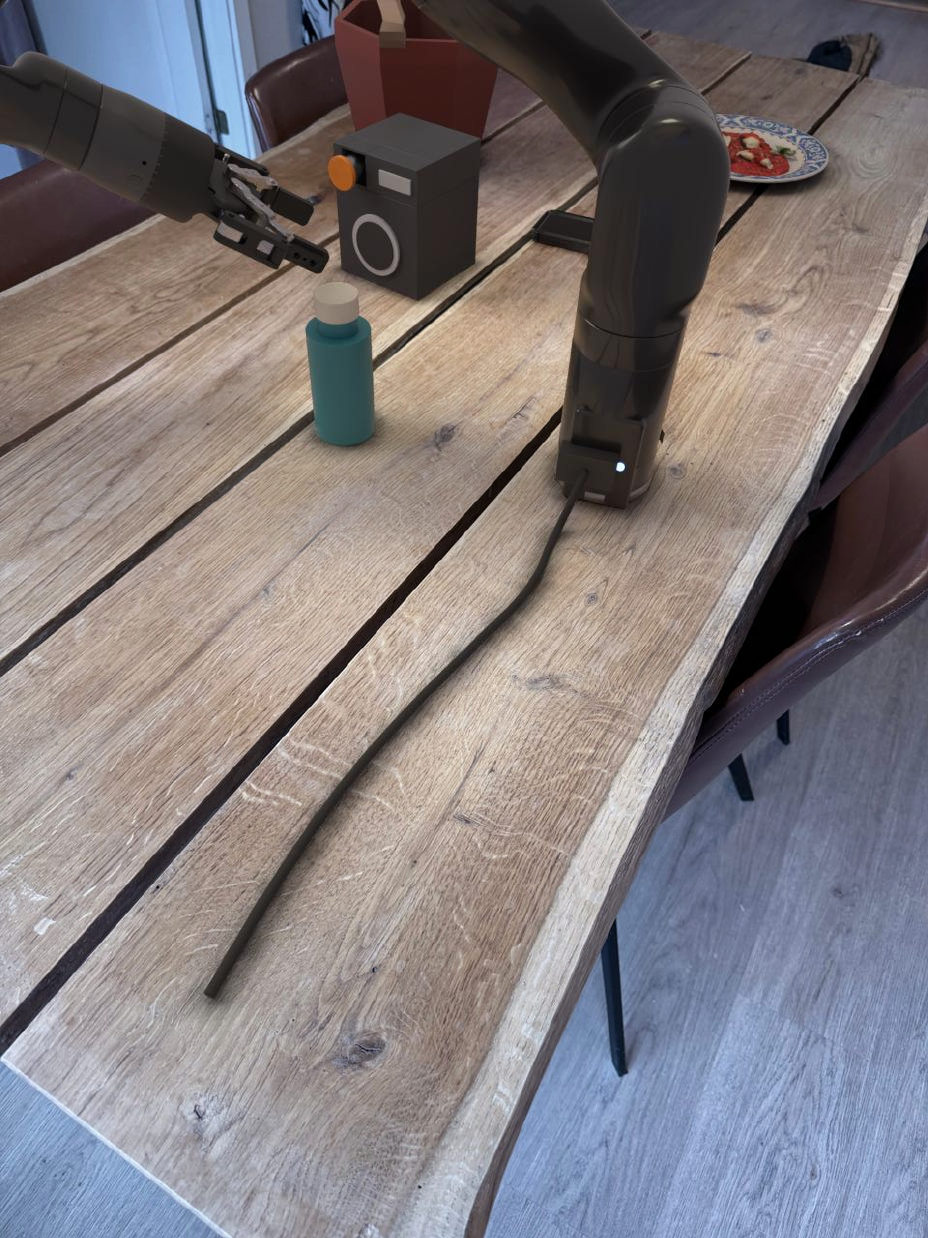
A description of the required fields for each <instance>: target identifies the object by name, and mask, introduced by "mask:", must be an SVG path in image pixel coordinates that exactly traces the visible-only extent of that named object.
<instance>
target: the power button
mask: <svg viewBox="0 0 928 1238" xmlns="http://www.w3.org/2000/svg"><path fill="white" fill-rule="evenodd" d="M327 171H328V176H329V179H330V181H331V182H332V184H333V185H334V186H335V188H336V187H337V188H338V189H340V190H342V191H347V190H349V189H351V188H353V186H354V185H355V182H357V181H359V180H361V179H363V178H365V177H366V161H365V155H362V154H359V153H356V152H353V153H351V154H349V155H347V156H342V155H337V156H335V157H334V156H333V157H331V158H330V160H329V162H328V165H327Z"/></svg>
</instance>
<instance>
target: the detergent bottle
mask: <svg viewBox="0 0 928 1238" xmlns="http://www.w3.org/2000/svg"><path fill="white" fill-rule="evenodd" d="M359 297H360V295H359V291H358V289H357V288H356V286H354V285H352V284H350V283H348V282H344V281H330V282H325V283H322V284H319V285H318V286H316V287H315V288H314V290H313V292H312V299H313V310H314V317H313V318H312V319H310V320H309V321H308V322H307V324H306V325H305V329H304V330H305V332H304V333H305V340H306V350H307V361H308V370H309V379H310V389H311V398H312V408H313V419H314V427H315V432H316V435H317V436H318V437H319V438H320V440H322V441H324V442H325V443H328V444H330V445H335V446H341V447H342V446H343V447H344V446H345V447H346V446H356V445H359V444H361V443H364V442H365V441H368V440H369V439H370V438H371V437H372V436H373V435H374V434H375V431H376V407H375V405H376V403H375V386H374V385H375V383H374V364H373V362H374V361H373V337H372V335H373V334H372V326H371V323H370V322H369V321H368V320H367V319H366V318H365V317H363V316H361V315H360V299H359Z"/></svg>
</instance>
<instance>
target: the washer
mask: <svg viewBox="0 0 928 1238" xmlns="http://www.w3.org/2000/svg"><path fill="white" fill-rule="evenodd" d="M481 145H482V142H481V138H478V137H475V136H472V135H468V134H465V133H462V132H459V131H456V130H453V129H449V128H446V127H443V126H440V125H437V124H434V123H431V122H427V121H424V120H421V119H418V118H415V117H412V116H408V115H405V114H402V113H398V114H395V115H393V116H391V117H389V118H386V119H384V120H382V121H379V122H377V123H375V124H373V125H370V126H368V127H366V128H364V129H361V130H359V131H357V132H352V133H350V134H348V135H346V136H343V137H341V138H339V139H337V140H334V141H332V148H333V150H332V151H333V157H335V156H337V155H342V156H347V155H349V154H351V153H353V152H356V153H359V154H362V155H365V161H366V177H365V178H363V179H361V180H359V181H357V182H355V185H354V186H353V188H351V189H349V190H347V191H342V190H340V189H338V188H337V187H336V186H335V189H336V190H335V195H336V208H337V222H338V237H339V239H338V240H339V251H340V252H339V253H340V267H341V270H342V271H345V272H347V273H350V274H352V275H355V276H357V277H359V278H361V279H364V280H366V281H369V282H371V283H374V284H376V285H379V286H381V287H383V288H386V289H389V290H391V291H393V292H395V293H398V294H401V295H403V296H406V297H408V298H410V299H413V300H415V301H418V300H421V299H422V298H424V297H425V296H427V295H428V294H430V293H431V292H433V291H435V290H436V289H437V288H439V287H441V286H442V285H444V284H446V283H447V282H448V281H451V280H452V279H453V278H455V277H456V276H459V275H460V274H461V273H463V272H464V271H466V270H468V269H469V268H470V267H472V266H475V264H476V253H477V234H478V233H477V232H478V214H479V213H478V211H479V192H480V191H479V189H480V170H481V150H482V149H481V148H482V146H481Z"/></svg>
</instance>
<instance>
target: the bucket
mask: <svg viewBox="0 0 928 1238" xmlns="http://www.w3.org/2000/svg"><path fill="white" fill-rule="evenodd" d="M333 28H334V30H333V31H334V45H335V50H336V54H337V58H338V62H339V66H340V71H341V76H342V79H343V84H344V88H345V92H346V97H347V102H348V105H349V110H350V114H351V118H352V122H353V127H354V131H355V132H357V131H359V130H361V129H364V128H366V127H368V126H370V125H373V124H375V123H377V122H379V121H382V120H384V119H386V118H389V117H391V116H393V115H395V114H398V113H402V114H405V115H408V116H412V117H415V118H418V119H421V120H424V121H427V122H431V123H434V124H437V125H440V126H443V127H446V128H449V129H453V130H456V131H459V132H462V133H465V134H468V135H472V136H475V137H478V138H481V143H482V141H483V138H484V137H483V136H484V133H485V128H486V124H487V119H488V117H489V116H488V115H489V111H490V107H491V102H492V99H493V94H494V89H495V85H496V81H497V76H498V72H499V69H500V68H499V67H497V66H495V65H494V64H492V63H490V62H489V61H487V60H485V59H484V58H482V57H480V56H479V55H477V54H475V53H474V52H472V51H471V50H469V49H468V48H466V47H465V46H463V45H462V44H460V43H459V42H458V41H456V40H455V39H453V38H452V37H451V36H449V35H448V34H447V33H445V32H444V31H443V30H442V29H440V28H439V27H438V26H437V25H436V24H435V23H434V22H432V21H431V20H430V19H429V18H428V17H427V16H426V15H425V14H424V13H423V12H422V11H421V10H420V9H419V8H418V7H417V6H416V5H415V4H414V3H413V2H412V1H411V0H352V1H351V2H350V3H349V4H348V5H347V6H346V7H345V8H344V9H343V10H342V11H341V12H340V13H338V15H337V16H336V17H334V19H333Z"/></svg>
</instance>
